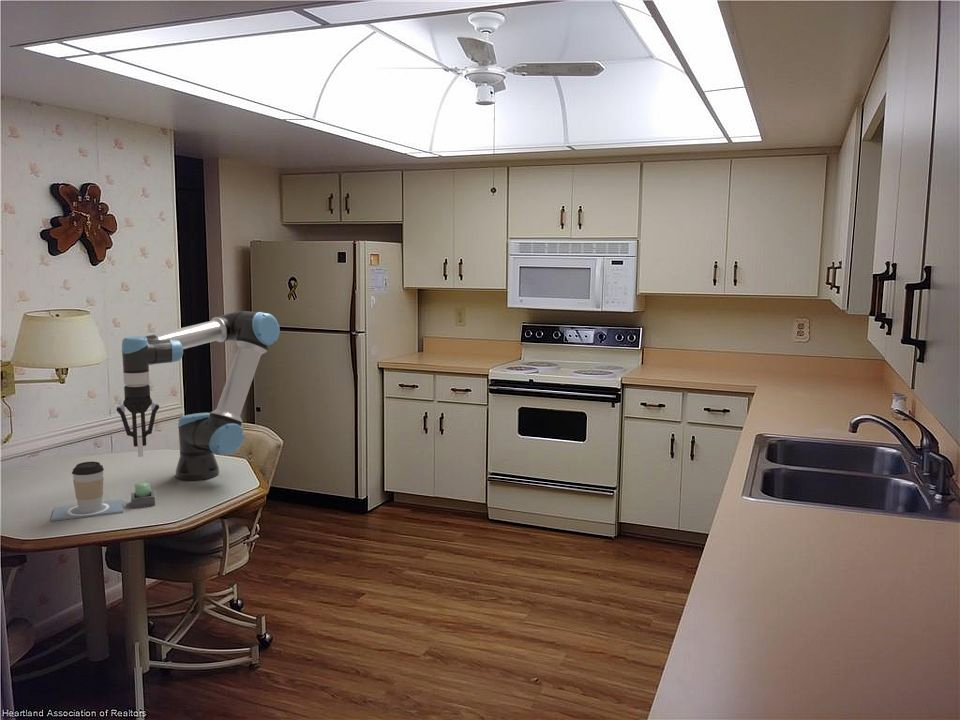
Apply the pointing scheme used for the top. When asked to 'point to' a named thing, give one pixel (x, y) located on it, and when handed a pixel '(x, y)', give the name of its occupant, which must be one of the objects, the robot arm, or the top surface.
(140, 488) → the button
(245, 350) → the robot arm
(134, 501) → the button housing
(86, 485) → the coffee cup
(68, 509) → the slate board
